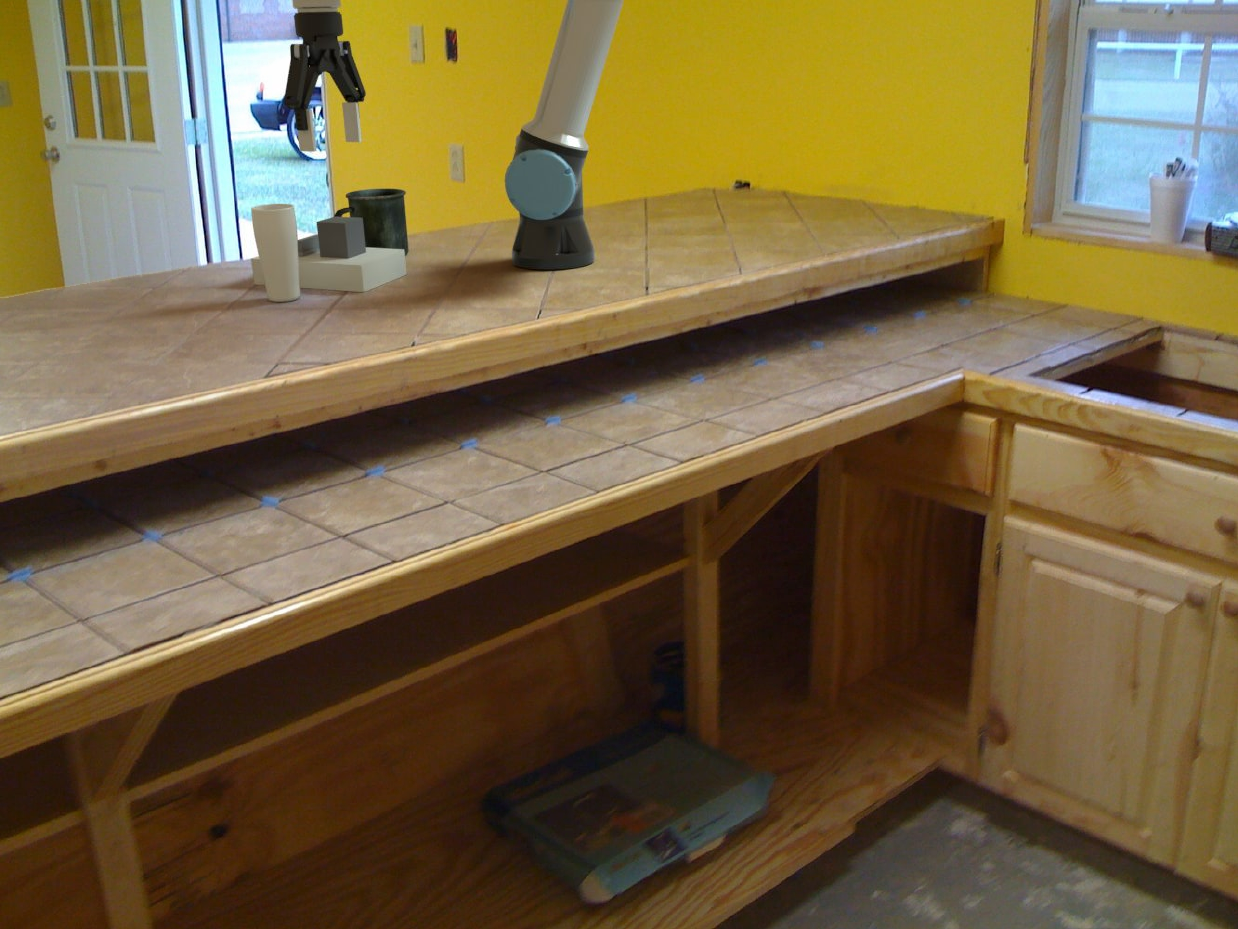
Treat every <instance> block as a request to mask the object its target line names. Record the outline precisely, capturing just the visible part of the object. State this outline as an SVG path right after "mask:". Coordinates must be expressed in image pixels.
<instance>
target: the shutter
mask: <svg viewBox="0 0 1238 929" xmlns="http://www.w3.org/2000/svg"><path fill="white" fill-rule="evenodd" d="M317 251H320V249H319V240H318V233H317V234H316V233H315V234H312V235H309V236H306V237H303V238H300V239H299V238H298V256H305V255H308V254H311V253H314V252H317Z"/></svg>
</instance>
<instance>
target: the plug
mask: <svg viewBox="0 0 1238 929" xmlns="http://www.w3.org/2000/svg"><path fill="white" fill-rule="evenodd" d="M316 228H317V229H316V230H317V234H318V240H319V249H320V257H327V258H344V259H349V258H352V257H355V256H358V255H360V254H363V253H366V246H365V236H364V226H363V218H356V217H350V216H342V217H334V216H333V217H329V218H326V219H322V220H318V221H316Z"/></svg>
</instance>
